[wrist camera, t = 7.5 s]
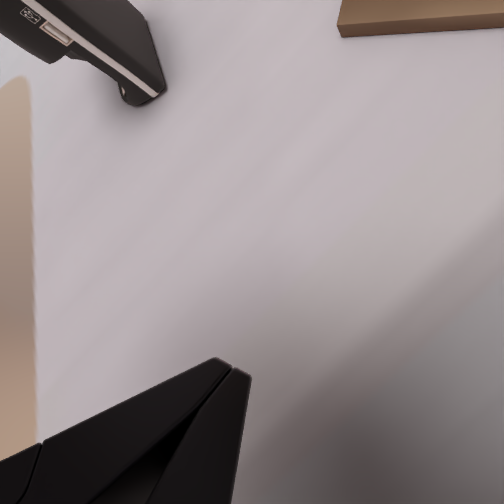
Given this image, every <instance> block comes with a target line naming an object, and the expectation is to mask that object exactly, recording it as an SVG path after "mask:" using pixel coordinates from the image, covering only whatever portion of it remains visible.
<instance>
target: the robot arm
mask: <svg viewBox="0 0 504 504" xmlns="http://www.w3.org/2000/svg"><path fill="white" fill-rule="evenodd" d="M251 381H252V377H251V375H250V374H248V373H246V372H244V371H242V370H240V369H238V368H232V366H231V365H230V364H229V363H227V362H225V361H223V360H221V359H219V358H216V357H215V358H211V359H209V360H207V361H205V362H203V363H201V364H199V365H197V366H195V367H193V368H191V369H189V370H187V371H185V372H183V373H180V374H178V375H176V376H174V377H172V378H170V379H168V380H166V381H164V382H162V383H160V384H158V385H156V386H154V387H152V388H150V389H148V390H146V391H144V392H142V393H140V394H138V395H136V396H134V397H131V398H129V399H127V400H125V401H123V402H121V403H119V404H117V405H115V406H113V407H111V408H109V409H107V410H105V411H103V412H101V413H99V414H97V415H95V416H93V417H91V418H89V419H87V420H85V421H82V422H80V423H78V424H76V425H74V426H72V427H70V428H68V429H66V430H64V431H62V432H60V433H58V434H56V435H54V436H52V437H50V438H48V439H46V440H44V441H43V443H42V444H41V443H37V444H35V445H33V446H31V447H29V448H27V449H25V450H23V451H21V452H19V453H17V454H15V455H13V456H10V457H9V458H6V459H4V460H2V461H0V504H231V501H232V495H233V489H234V483H235V477H236V471H237V465H238V459H239V453H240V447H241V441H242V435H243V429H244V423H245V417H246V411H247V405H248V399H249V393H250V387H251Z"/></svg>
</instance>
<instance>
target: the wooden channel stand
mask: <svg viewBox="0 0 504 504" xmlns="http://www.w3.org/2000/svg"><path fill="white" fill-rule="evenodd" d="M337 27H338V30H339V32H340V34H341V37H351V36H368V35H384V34H401V33H417V32H434V31H450V30H466V29H483V28H499V27H504V0H342V4H341V9H340V13H339V17H338V21H337Z"/></svg>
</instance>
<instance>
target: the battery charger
mask: <svg viewBox="0 0 504 504" xmlns="http://www.w3.org/2000/svg"><path fill="white" fill-rule="evenodd" d="M0 33H1V34H2V35H4V36H5V37H7V38H8V39H10V40H11V41H12V42H14V43H15V44H17V45H18V46H20V47H21V48H23V49H24V50H26V51H27V52H29V53H31V54H32V55H34V56H36V57H38V58H39V59H41V60H43V61H44V62H46V63H49V64H51V63H54V62H56V61H58V60H59V59H61V58H62V57H63V56H64V55H66V56H68V57H69V58H71V59H78V60H83V61H88V62H89V63H91V64H92V65H94V66H95V67H97V68H98V69H100V70H101V71H103V72H104V73H106V74H107V75H109V76H110V77H111V78H113V79H114V80H115V81H117V82H118V86H119V90H120V94H121V96H122V99H123V100H124V101H125V102H126V103H128V104H130V105H132V106H135V105H139V104H141V103H143V102H146V101H147V100H149V99H150V98H152V97H153V98H154V97H156V96H157V95H158V94H159V92H160V91H162V90H163V89H164V81H163V77H162V74H161V70H160V67H159V64H158V60H157V57H156V53H155V50H154V47H153V44H152V41H151V37H150V34H149V31H148V28H147V25H146V22H145V19H144V17H143V15H142V14H141V13H140V12H139V11H138V10H137V9H136V8H135V7H134V6H133V5H132V4H131V3H130V2H129V1H128V0H0Z"/></svg>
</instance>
